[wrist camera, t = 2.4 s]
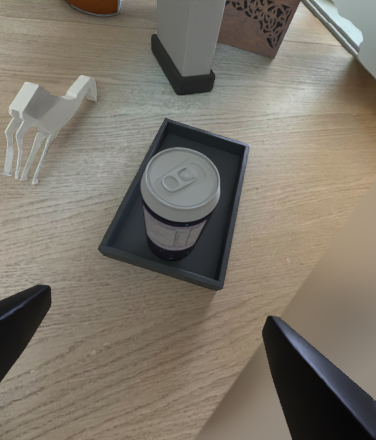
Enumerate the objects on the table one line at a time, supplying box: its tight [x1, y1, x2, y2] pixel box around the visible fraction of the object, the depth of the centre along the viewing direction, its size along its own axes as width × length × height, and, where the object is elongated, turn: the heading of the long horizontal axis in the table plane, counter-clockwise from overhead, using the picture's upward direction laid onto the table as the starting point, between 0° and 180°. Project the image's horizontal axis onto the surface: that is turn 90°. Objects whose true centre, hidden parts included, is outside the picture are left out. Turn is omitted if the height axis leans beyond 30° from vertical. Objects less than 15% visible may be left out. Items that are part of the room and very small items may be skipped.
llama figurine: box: [0, 75, 97, 185], centre depth 26 cm, size 2×11×18 cm
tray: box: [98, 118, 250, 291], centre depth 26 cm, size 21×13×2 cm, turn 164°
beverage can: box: [140, 148, 220, 261], centre depth 18 cm, size 6×6×12 cm
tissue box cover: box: [217, 0, 301, 59], centre depth 45 cm, size 26×14×10 cm, turn 76°
